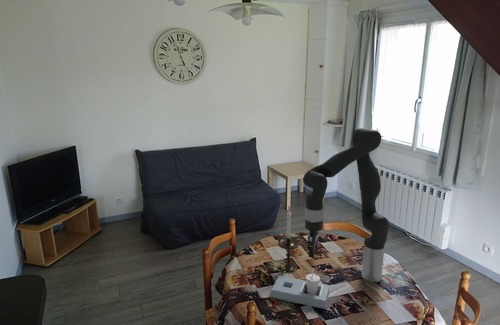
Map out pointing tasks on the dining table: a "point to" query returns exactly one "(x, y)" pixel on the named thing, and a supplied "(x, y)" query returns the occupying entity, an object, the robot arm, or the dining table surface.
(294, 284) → the socket block
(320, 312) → the dining table surface
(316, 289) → the smoothie
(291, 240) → the candlestick
